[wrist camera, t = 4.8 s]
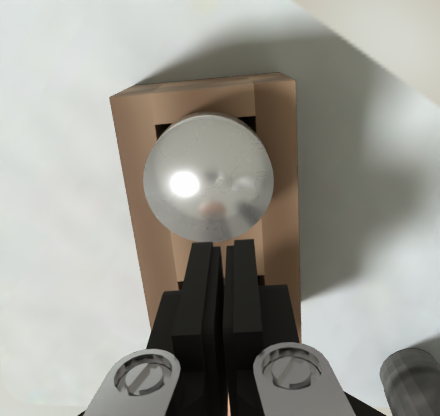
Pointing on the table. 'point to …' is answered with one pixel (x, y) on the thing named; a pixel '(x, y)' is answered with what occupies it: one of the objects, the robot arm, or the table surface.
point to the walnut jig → (275, 147)
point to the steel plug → (208, 177)
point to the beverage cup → (411, 383)
